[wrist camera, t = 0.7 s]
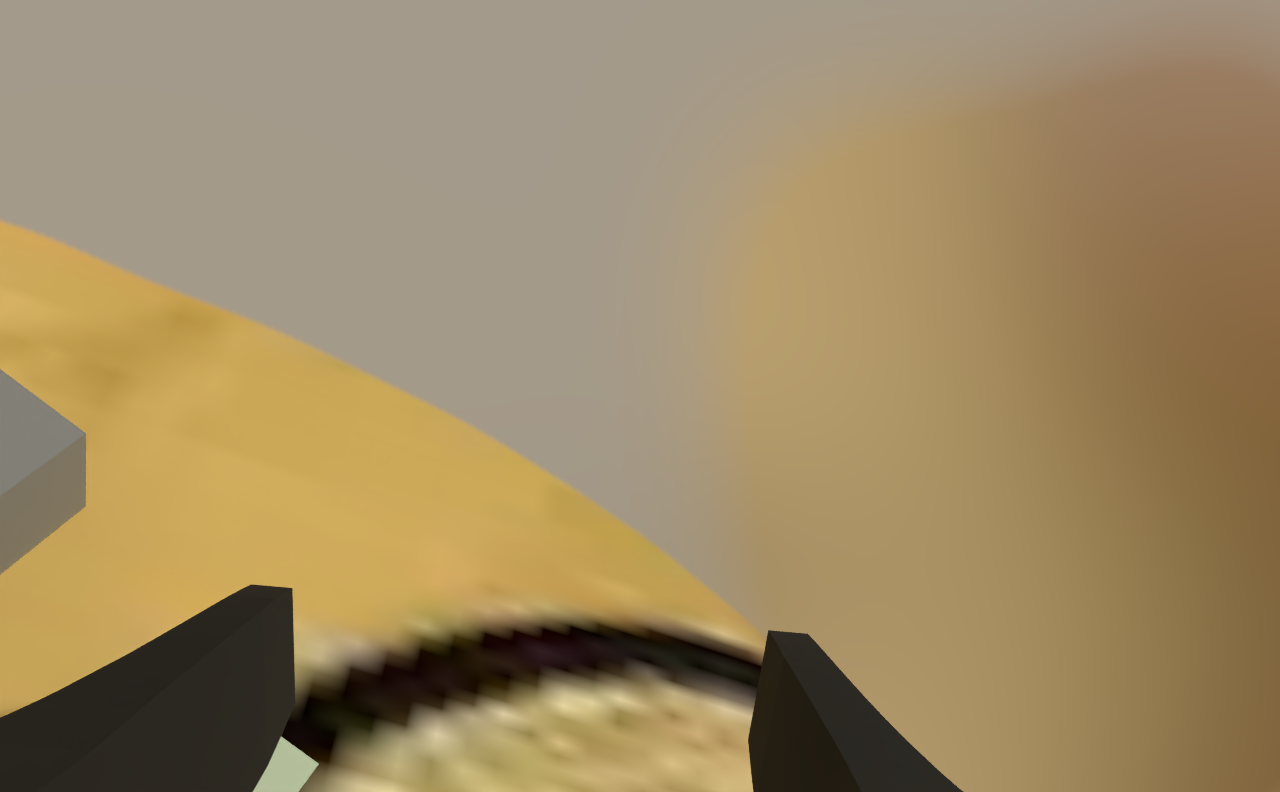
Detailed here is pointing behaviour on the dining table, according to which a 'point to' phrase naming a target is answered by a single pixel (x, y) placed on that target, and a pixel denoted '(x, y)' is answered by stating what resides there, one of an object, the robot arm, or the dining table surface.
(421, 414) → the dining table surface
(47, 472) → the grey cube
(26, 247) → the dining table surface
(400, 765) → the dining table surface
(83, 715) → the robot arm
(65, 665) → the dining table surface
